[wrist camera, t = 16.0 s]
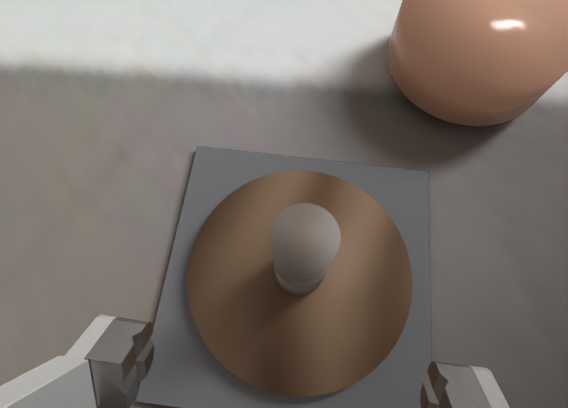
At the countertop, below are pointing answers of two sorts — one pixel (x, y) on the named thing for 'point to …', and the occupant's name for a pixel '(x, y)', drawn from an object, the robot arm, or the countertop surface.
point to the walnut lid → (299, 283)
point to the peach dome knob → (478, 56)
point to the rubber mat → (199, 359)
